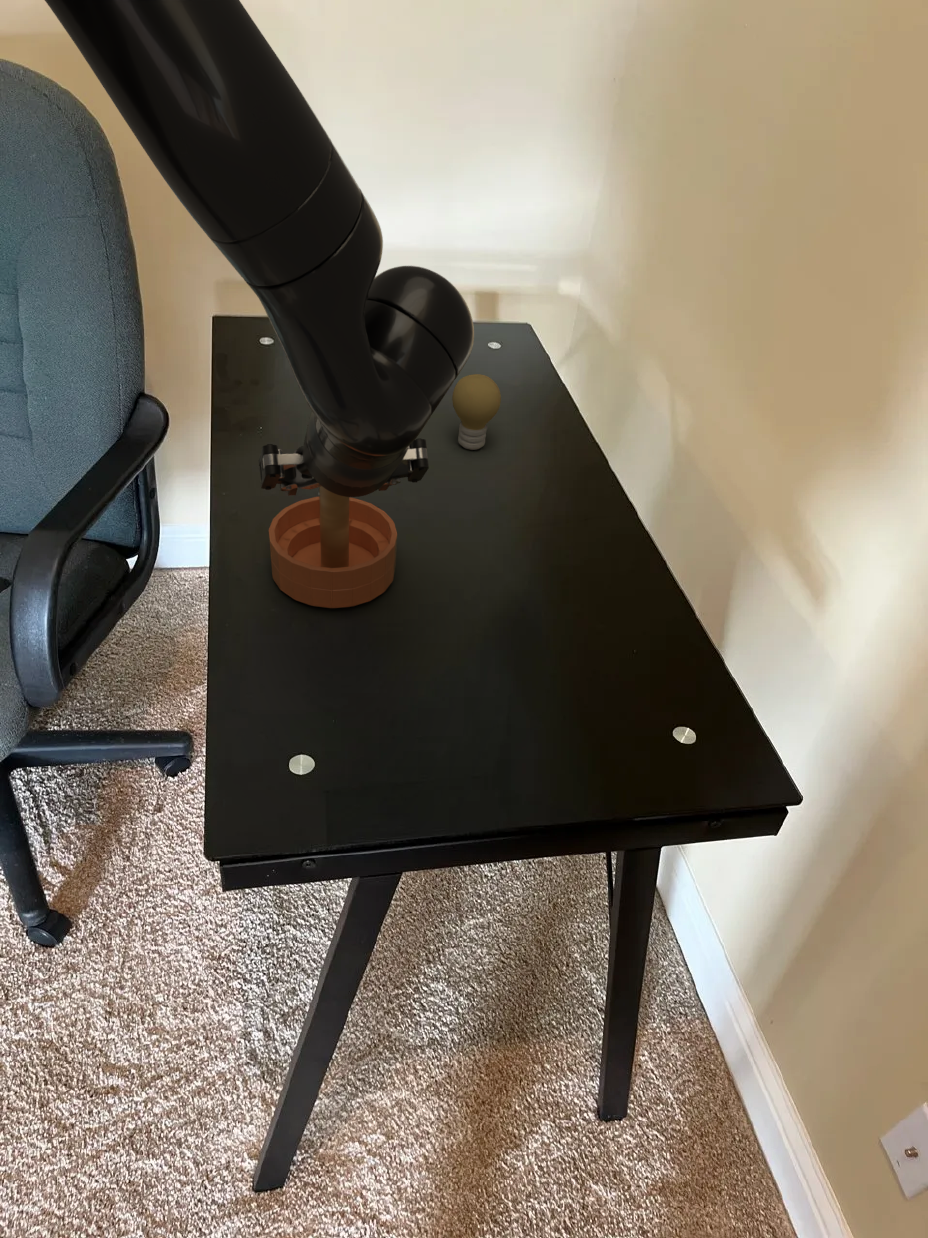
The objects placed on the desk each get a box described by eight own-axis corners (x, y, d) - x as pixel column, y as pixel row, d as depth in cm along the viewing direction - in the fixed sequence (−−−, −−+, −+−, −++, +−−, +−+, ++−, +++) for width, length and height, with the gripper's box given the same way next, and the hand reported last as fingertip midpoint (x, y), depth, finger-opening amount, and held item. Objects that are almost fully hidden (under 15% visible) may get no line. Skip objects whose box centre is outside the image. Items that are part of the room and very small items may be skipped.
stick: (322, 577, 88) (320, 482, 80) (319, 560, 90) (317, 465, 82) (350, 575, 89) (351, 480, 81) (346, 558, 91) (347, 464, 83)
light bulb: (456, 459, 110) (463, 389, 103) (441, 434, 114) (448, 367, 108) (500, 455, 112) (510, 387, 105) (485, 431, 116) (493, 364, 110)
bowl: (277, 617, 84) (274, 576, 80) (267, 539, 93) (264, 499, 90) (404, 606, 87) (407, 565, 83) (383, 532, 96) (384, 492, 93)
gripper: (442, 387, 65) (405, 440, 80) (256, 390, 61) (255, 446, 77) (452, 481, 64) (413, 517, 80) (265, 491, 61) (263, 526, 77)
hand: (336, 482), depth 78 cm, fingers open, 8 cm apart
